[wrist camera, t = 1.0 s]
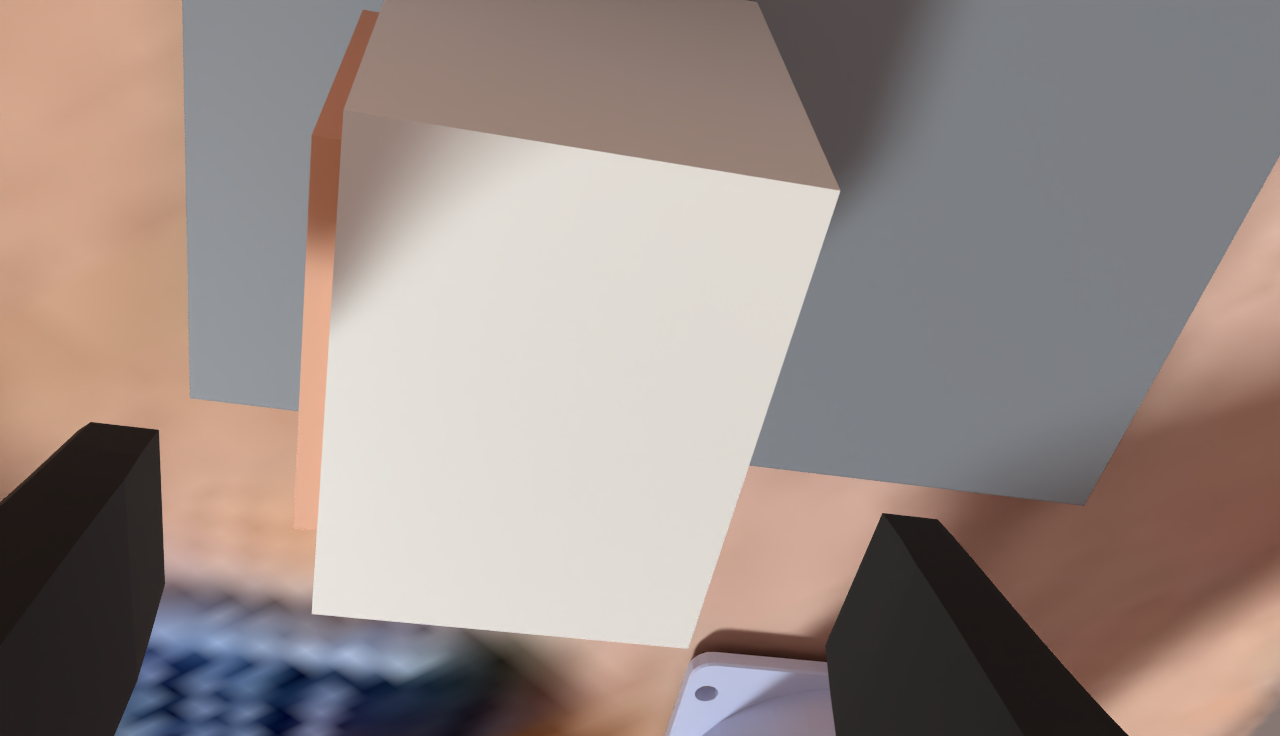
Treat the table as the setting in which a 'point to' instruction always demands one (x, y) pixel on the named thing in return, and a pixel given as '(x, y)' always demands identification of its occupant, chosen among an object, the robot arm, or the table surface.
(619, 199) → the carton
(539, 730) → the table surface
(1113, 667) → the table surface
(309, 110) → the grey tray
